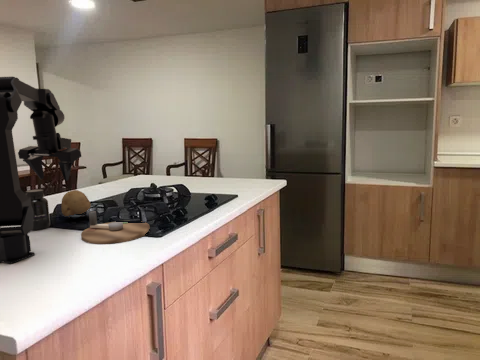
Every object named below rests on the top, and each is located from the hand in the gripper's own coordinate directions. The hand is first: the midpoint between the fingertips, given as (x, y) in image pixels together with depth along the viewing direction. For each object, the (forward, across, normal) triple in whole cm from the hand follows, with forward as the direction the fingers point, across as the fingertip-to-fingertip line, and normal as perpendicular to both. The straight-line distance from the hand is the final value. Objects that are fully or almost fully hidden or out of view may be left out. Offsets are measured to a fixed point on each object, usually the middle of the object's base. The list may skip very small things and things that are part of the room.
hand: (54, 179), depth 121 cm
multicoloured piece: (+11, -23, +9) cm, 26 cm away
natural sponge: (+16, -2, -4) cm, 17 cm away
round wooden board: (+12, -26, +9) cm, 30 cm away
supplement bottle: (+14, +3, +7) cm, 16 cm away
